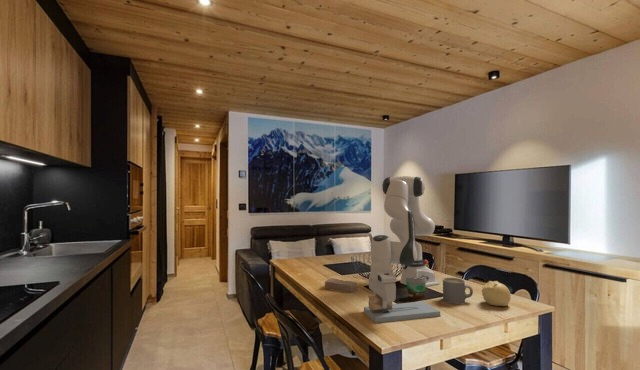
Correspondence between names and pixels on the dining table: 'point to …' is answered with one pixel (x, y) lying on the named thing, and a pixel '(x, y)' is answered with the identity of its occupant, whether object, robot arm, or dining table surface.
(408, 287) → the food container
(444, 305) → the dining table surface
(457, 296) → the coffee mug
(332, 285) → the brick
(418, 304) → the board
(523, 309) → the dining table surface
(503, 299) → the pale yellow rounded lump
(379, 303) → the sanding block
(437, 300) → the dining table surface
